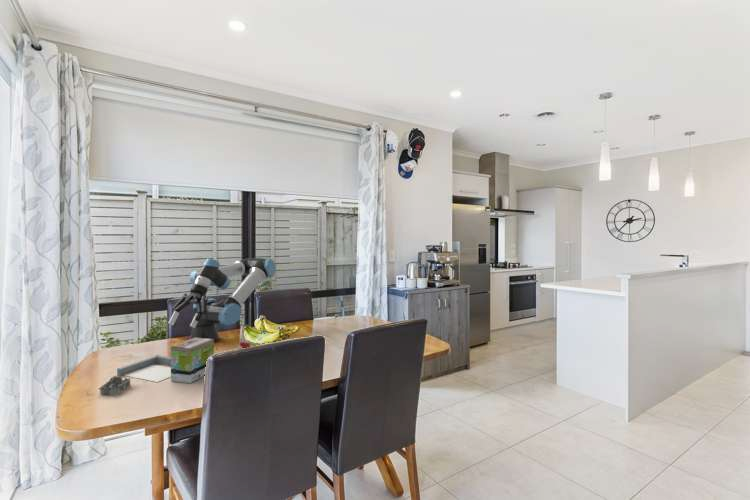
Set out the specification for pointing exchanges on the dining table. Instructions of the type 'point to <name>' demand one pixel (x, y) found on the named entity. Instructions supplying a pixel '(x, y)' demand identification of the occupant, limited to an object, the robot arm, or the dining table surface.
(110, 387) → the egg carton
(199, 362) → the tea box
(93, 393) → the dining table surface
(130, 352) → the dining table surface
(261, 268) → the robot arm
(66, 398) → the dining table surface
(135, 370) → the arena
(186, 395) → the dining table surface
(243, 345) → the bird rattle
